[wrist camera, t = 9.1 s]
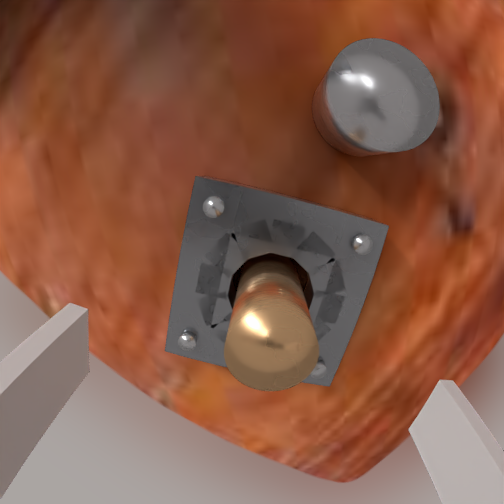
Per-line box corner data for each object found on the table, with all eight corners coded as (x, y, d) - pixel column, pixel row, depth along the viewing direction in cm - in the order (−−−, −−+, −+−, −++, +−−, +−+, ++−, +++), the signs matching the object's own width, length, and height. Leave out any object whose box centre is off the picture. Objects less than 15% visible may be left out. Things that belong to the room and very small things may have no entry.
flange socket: (175, 331, 24) (162, 355, 20) (204, 175, 21) (193, 176, 18) (323, 364, 24) (330, 391, 21) (373, 219, 21) (392, 227, 18)
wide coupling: (302, 141, 20) (317, 129, 14) (322, 58, 19) (340, 22, 13) (388, 168, 20) (428, 168, 15) (404, 87, 19) (444, 65, 13)
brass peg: (229, 269, 23) (205, 339, 13) (279, 240, 22) (290, 294, 12) (259, 314, 23) (255, 403, 14) (307, 287, 23) (334, 366, 13)
